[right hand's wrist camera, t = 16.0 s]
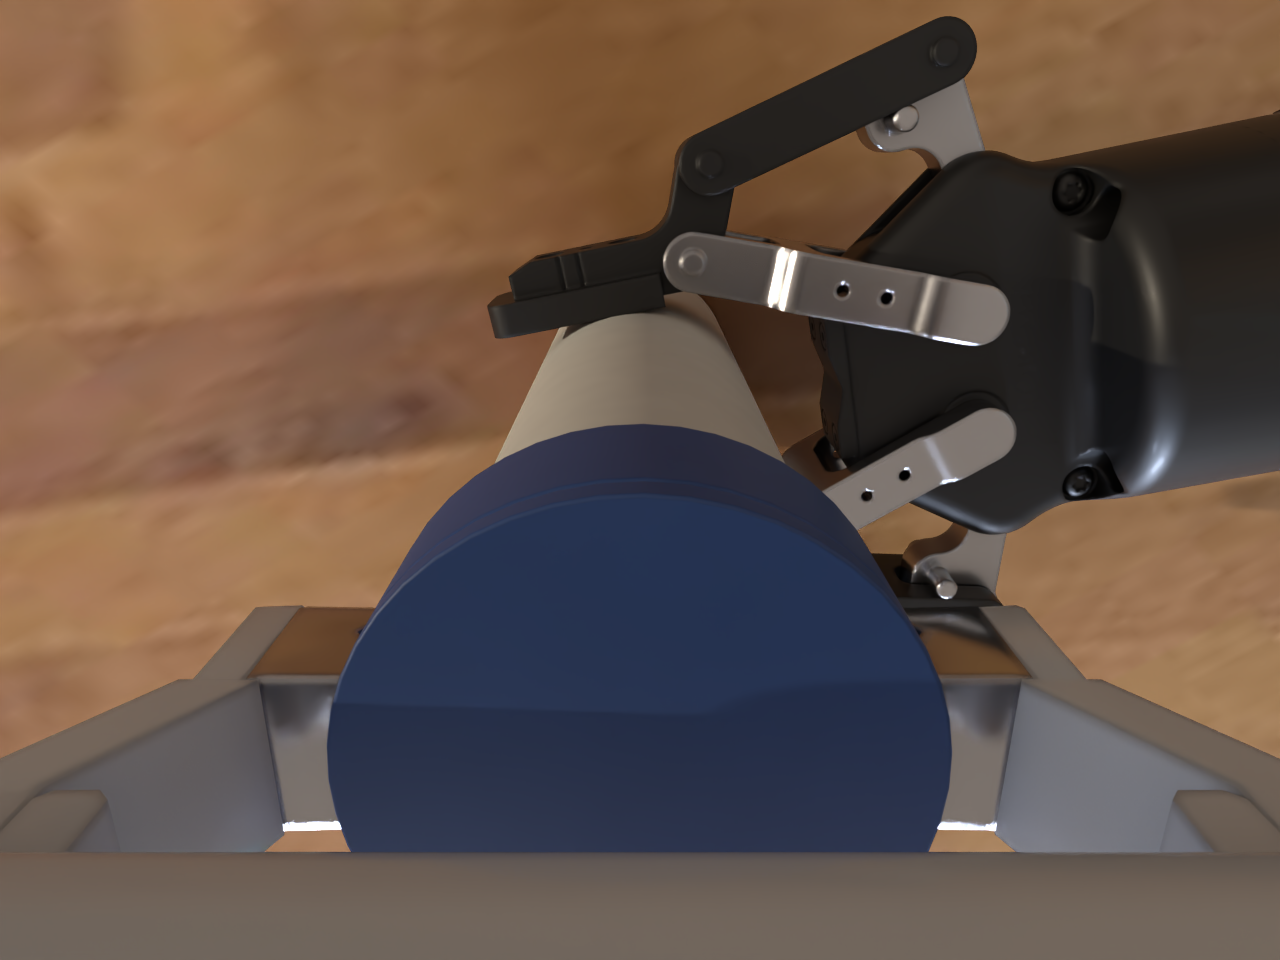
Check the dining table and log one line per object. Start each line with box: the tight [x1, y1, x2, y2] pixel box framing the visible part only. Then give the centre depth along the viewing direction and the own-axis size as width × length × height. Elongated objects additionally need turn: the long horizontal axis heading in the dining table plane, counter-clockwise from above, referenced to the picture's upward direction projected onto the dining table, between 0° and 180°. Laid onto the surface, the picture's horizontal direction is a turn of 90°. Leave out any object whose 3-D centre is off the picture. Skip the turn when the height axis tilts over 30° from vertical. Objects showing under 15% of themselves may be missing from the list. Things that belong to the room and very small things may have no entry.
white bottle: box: [495, 291, 785, 464], centre depth 17 cm, size 5×5×18 cm
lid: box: [327, 424, 952, 852], centre depth 9 cm, size 6×6×2 cm
